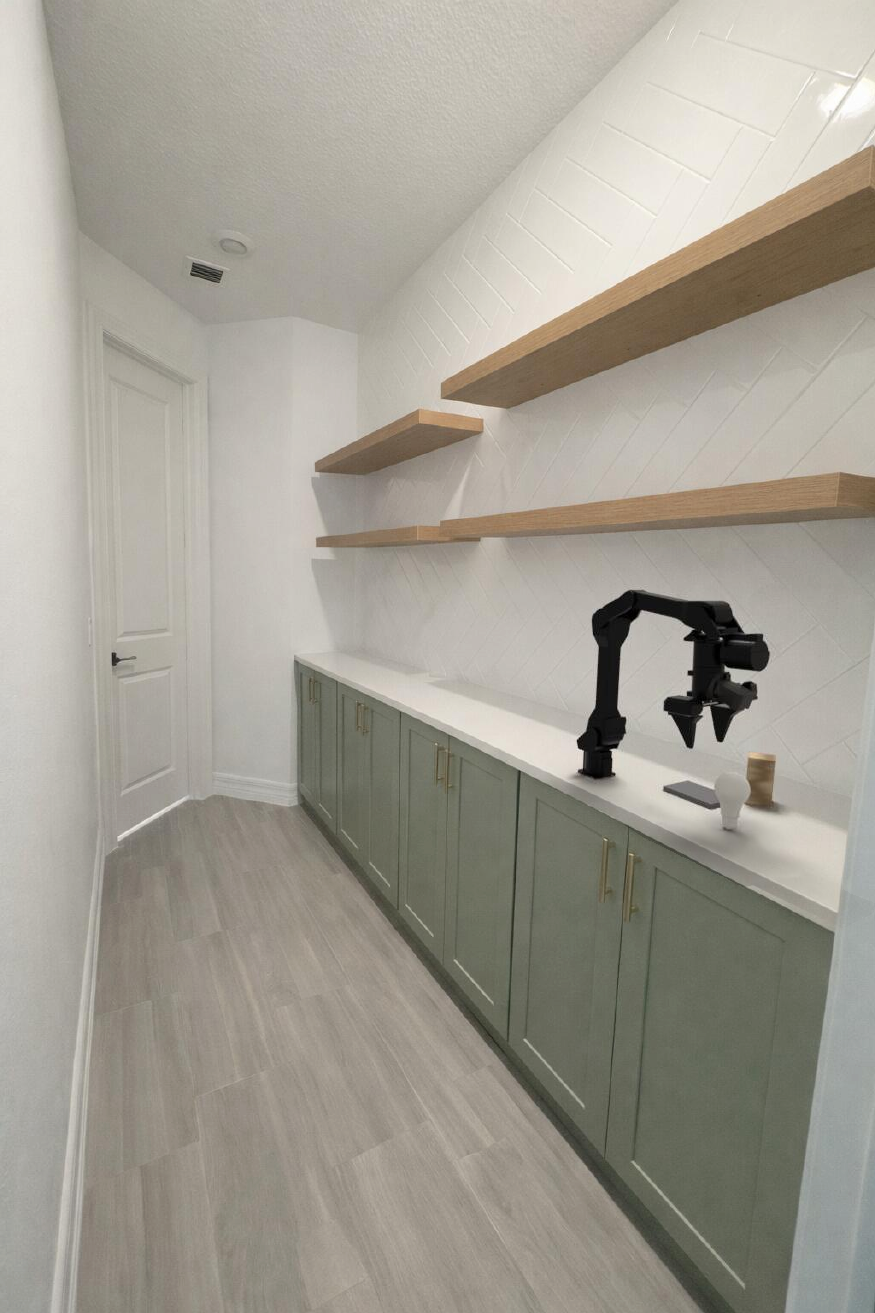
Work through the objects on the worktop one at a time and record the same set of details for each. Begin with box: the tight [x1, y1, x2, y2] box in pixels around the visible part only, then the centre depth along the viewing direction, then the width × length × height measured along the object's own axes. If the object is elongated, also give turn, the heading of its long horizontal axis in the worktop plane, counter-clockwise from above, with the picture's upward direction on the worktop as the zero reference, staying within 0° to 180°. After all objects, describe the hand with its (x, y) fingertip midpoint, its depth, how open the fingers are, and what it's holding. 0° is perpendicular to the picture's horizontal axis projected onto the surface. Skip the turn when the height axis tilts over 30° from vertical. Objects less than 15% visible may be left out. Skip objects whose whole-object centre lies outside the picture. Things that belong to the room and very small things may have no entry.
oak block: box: [743, 751, 776, 809], centre depth 126 cm, size 5×5×10 cm
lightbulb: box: [713, 771, 751, 830], centre depth 112 cm, size 6×6×11 cm
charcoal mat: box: [662, 780, 721, 810], centre depth 129 cm, size 12×8×1 cm, turn 29°
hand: (705, 745), depth 117 cm, fingers open, 9 cm apart
